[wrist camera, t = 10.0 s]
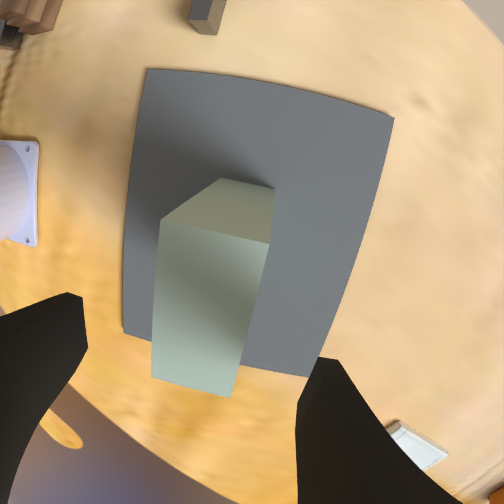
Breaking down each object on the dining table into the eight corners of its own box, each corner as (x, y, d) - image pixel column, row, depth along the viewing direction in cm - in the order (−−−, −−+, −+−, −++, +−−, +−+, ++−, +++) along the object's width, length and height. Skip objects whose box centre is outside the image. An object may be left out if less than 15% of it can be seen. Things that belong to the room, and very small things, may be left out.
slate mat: (125, 330, 21) (123, 332, 21) (150, 70, 15) (147, 68, 15) (308, 373, 21) (309, 377, 21) (392, 118, 15) (394, 117, 14)
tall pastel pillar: (204, 275, 19) (151, 376, 10) (221, 177, 17) (160, 219, 8) (252, 286, 19) (230, 397, 10) (275, 189, 16) (269, 244, 8)
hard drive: (449, 455, 24) (402, 428, 22) (393, 487, 27) (334, 467, 25) (445, 445, 26) (398, 415, 23) (391, 477, 28) (333, 454, 26)
